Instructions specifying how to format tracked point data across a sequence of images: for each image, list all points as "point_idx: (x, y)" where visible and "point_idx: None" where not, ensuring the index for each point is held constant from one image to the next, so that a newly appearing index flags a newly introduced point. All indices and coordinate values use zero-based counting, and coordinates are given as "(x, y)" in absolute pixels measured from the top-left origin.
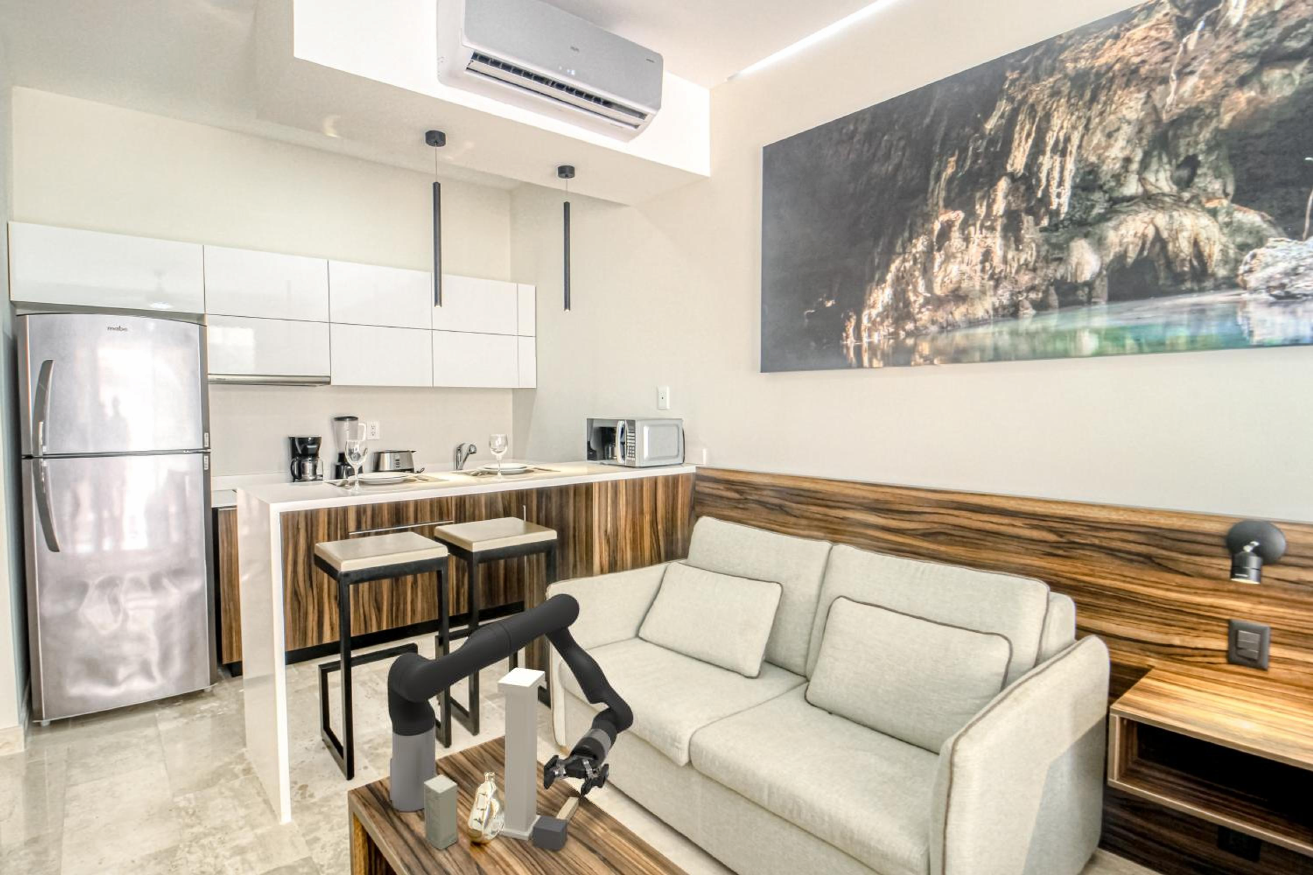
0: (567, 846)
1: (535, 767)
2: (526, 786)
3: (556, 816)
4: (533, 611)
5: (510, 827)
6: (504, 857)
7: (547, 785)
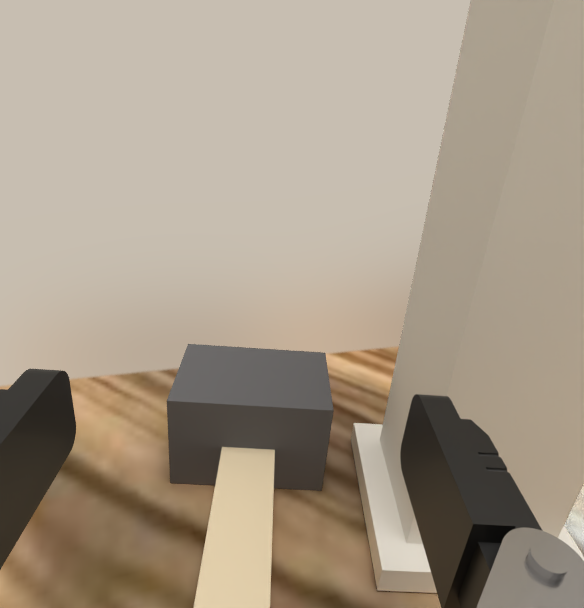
0: (159, 441)
1: (488, 188)
2: (427, 218)
3: (271, 527)
4: None
5: None
6: (375, 370)
7: (406, 429)
